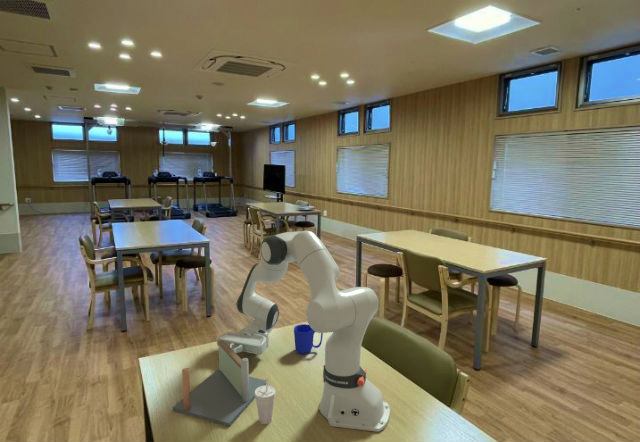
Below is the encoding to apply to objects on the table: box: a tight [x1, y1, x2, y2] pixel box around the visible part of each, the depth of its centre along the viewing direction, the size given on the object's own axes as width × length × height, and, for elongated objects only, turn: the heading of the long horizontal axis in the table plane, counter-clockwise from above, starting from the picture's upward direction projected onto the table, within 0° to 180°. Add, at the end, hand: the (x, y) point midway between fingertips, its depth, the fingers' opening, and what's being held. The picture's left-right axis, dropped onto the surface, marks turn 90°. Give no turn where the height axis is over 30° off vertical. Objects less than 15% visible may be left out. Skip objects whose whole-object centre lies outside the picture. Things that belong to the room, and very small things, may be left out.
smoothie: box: [254, 377, 277, 425], centre depth 116 cm, size 6×6×14 cm
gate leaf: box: [218, 340, 242, 396], centre depth 133 cm, size 20×2×11 cm, turn 35°
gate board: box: [172, 357, 266, 428], centre depth 127 cm, size 21×24×15 cm
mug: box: [293, 323, 324, 355], centre depth 159 cm, size 8×12×10 cm
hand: (230, 351), depth 144 cm, fingers closed
